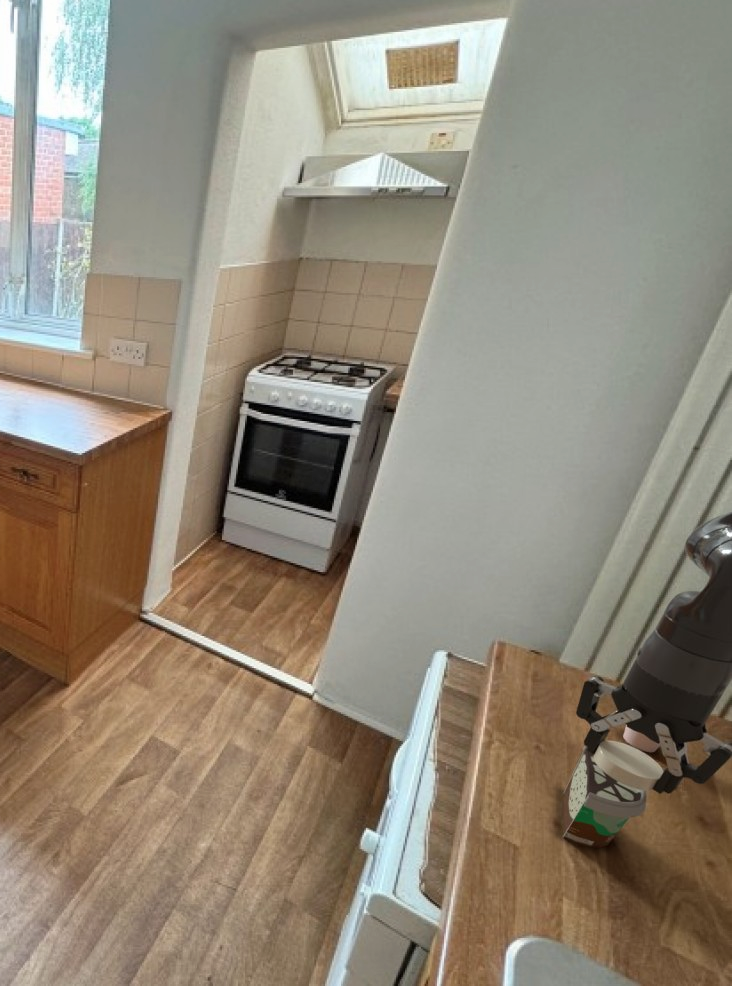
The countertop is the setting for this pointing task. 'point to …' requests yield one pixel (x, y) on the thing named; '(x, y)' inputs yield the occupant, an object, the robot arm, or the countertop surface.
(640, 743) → the smoothie
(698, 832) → the countertop surface
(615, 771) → the cream round lid
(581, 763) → the food container
